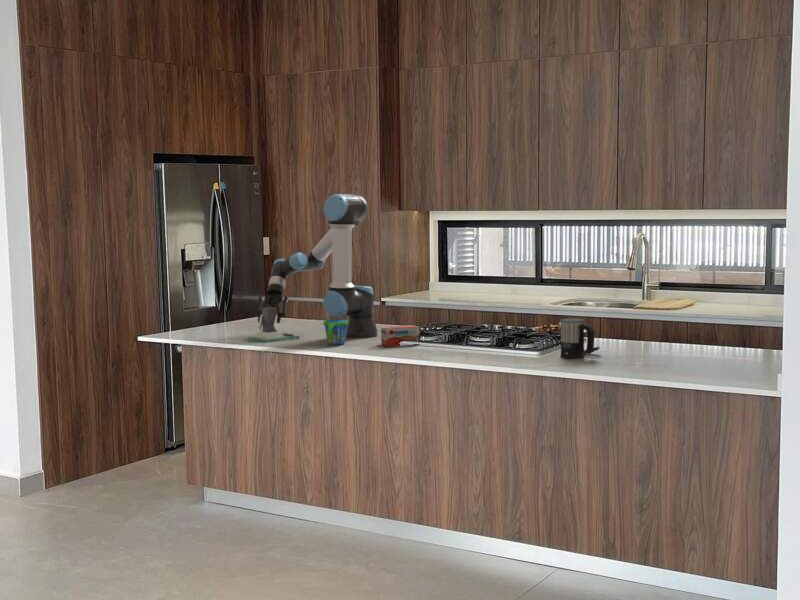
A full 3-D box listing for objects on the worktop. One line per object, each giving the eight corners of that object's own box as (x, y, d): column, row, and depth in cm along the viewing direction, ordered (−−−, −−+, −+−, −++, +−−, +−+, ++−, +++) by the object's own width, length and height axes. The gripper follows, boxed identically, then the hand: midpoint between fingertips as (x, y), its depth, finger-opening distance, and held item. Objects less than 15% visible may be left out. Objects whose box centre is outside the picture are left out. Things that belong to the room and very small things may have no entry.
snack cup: (339, 347, 407) (339, 323, 406) (317, 346, 411) (316, 322, 410) (354, 342, 421) (354, 319, 420) (333, 341, 425) (332, 318, 424)
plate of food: (584, 328, 457) (584, 316, 456) (598, 336, 429) (598, 323, 429) (526, 331, 456) (525, 319, 456) (536, 339, 429) (535, 326, 428)
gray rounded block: (276, 334, 432) (276, 307, 431) (268, 335, 429) (267, 308, 428) (270, 333, 436) (270, 307, 435) (262, 334, 433) (261, 307, 432)
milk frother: (557, 358, 372) (557, 320, 371) (565, 352, 387) (565, 315, 385) (594, 360, 367) (594, 322, 366) (601, 354, 382) (601, 317, 380)
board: (299, 338, 435) (298, 330, 434) (265, 342, 423) (265, 334, 422) (281, 335, 445) (280, 327, 445) (248, 339, 433) (247, 331, 433)
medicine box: (413, 342, 419) (413, 324, 418) (420, 345, 412) (420, 326, 411) (380, 344, 414) (380, 326, 413) (387, 347, 406) (387, 328, 405)
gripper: (298, 293, 444) (289, 333, 430) (257, 293, 447) (248, 332, 433) (295, 282, 439) (286, 323, 424) (254, 282, 441) (244, 322, 427)
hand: (267, 327), depth 429 cm, fingers closed on gray rounded block, 6 cm apart
